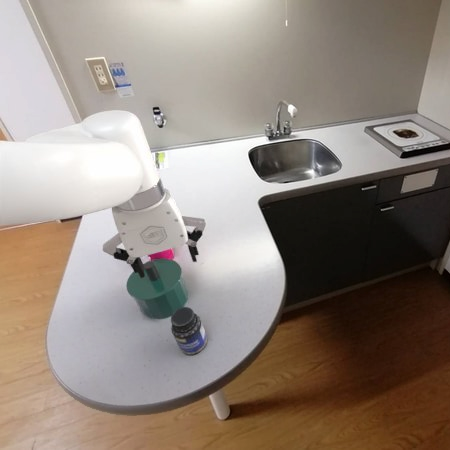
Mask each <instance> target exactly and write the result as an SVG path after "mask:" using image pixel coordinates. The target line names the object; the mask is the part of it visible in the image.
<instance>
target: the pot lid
mask: <svg viewBox="0 0 450 450" xmlns="http://www.w3.org/2000/svg"><path fill="white" fill-rule="evenodd" d="M143 264H144V267H145V276H144V277H143V278H141V277H140V275H139V273H138V272H137V273H135V272H134V270H133V271H132V272H131V273H130V275H129V277H128V278H127V280H126V291H127V293H128V294H129V295H130V296H131V297H132V298H133V299H134V298H136V299H139V300H152V299H156V298H159V297H161V296H164V295H165V294H167V293H169V292H170V291H171V290H173V289H174V288H175V287H176V286H177V284H178V283H179V281H180V279H181V277H183V270H182V267H181V265H180V264H179V263H178V262H177V261H176V260H173V259H172V260H171V259H155V260H152V261H151V260H148V261H146V262H143Z"/></svg>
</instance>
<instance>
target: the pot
mask: <svg viewBox="0 0 450 450" xmlns="http://www.w3.org/2000/svg"><path fill="white" fill-rule="evenodd" d="M133 299H134V301H135V302H136V304H137V306H138V308H139V309H140V311H141V312H142V313H143V315H144V316H145V317H147V318H148V319H153V320H163V319H167V318H171V316H172V314H173V313H174V312H175V311H176V310H177V309H179V308H182V307H185V306H186V304H187V303H188V299H189V291H188V288H187V285H186V283H185V280H184V276H182V277H181V279H180V281H179V283H178V284H177V286H176V287H175V288H174V289H173V290H171V291H170V292H169V293H167V294H165V295H164V296H161V297H159V298H156V299H152V300H139V299H136V298H134V297H133Z"/></svg>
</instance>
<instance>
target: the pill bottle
mask: <svg viewBox="0 0 450 450" xmlns="http://www.w3.org/2000/svg"><path fill="white" fill-rule="evenodd" d="M170 322H171V328H170V330H171V333H172V336H173V337H174V339H175V341H176V344H177V345H178V347H179V349H180V351H181V353H183V354H184V355H186V356H195V355H198V354H199V353H201V352H202V351H203V350H204V349H205V348H206V347H207V344H208V335H207V333H206V330H205V328H204V325H203V322H202V320H201V317H200V315H199V314H197V313H196V312H195V311H194V310H193V309H192V308H191V307H189V306H184V307H182V308H179V309H177V310H176V311H175V312H174V313H173V314H172V316H170Z"/></svg>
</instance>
